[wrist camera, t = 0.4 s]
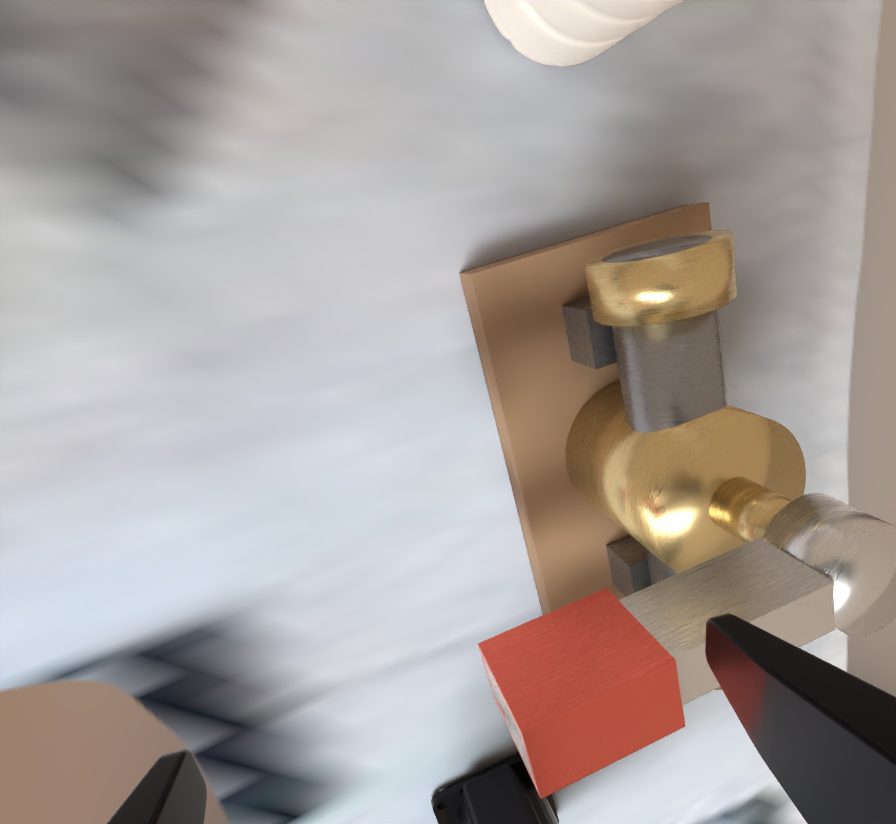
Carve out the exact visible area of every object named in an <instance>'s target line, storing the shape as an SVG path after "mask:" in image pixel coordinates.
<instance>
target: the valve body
mask: <svg viewBox="0 0 896 824" xmlns="http://www.w3.org/2000/svg"><path fill="white" fill-rule="evenodd" d="M584 266H585V272H586V278H587V284H588V290H589V296H590V297H588V298H585V299H582V300H579V301H576V302H572V303H569V304H566V305H563V306H562V311H563V317H564V322H565V328H566V333H567V338H568V344H569V349H570V355H571V360H572V361H575V362H577V363H580V364H582V365H585V366H588V367H590V368H593V369H599V368H602V367H605V366H608V365H610V364H613V363H616V362H617V364H618V371H619V377H620V380H617V381H615V382H613V383H610V384H608V385H607V386H605V387H603V388H602V389H600V390H599V391H598V392H596V393H595V394H594V395H593V396H592V397H591V398H590V399H589V400H588V401H587V402H586V403H585V404H584V405H583V407H582V408H581V409H580V411H579V412H578V414H577V415H576V417H575V419H574V421H573V423H572V425H571V428H570V431H569V434H568V438H567V442H566V450H565V460H566V468H567V471H568V475H569V477H570V479H571V482H572V484H573V485H574V487H575V488H576V490H577V491H578V492H579V493H580V494H581V495H582V496H583V497H585V498H586V499H587V500H588V501H590V502H591V503H592V504H593V505H594V506H596V507H597V508H598V509H599V510H601V511H602V512H603V513H604V514H605V515H607V516H608V517H609V518H610V519H612V520H613V521H614V522H615V523H616V524H618V525H619V526H620V527H621V528H623V529H624V530H625V531H626V532H627V533H629V534H630V535H628V536H625V537H623V538H621V539H618V540H616V541H613V542H611V543H609V544H606V549H607V555H608V560H609V566H610V571H611V576H612V582H613V585H614V586H615V587H616V588H617V589H618V590H619V591H620V592H621V593H622V594H623V595H624V596H625V597H627V596H629V595H631V594H633V593H636V592H638V591H640V590H642V589H645V588H647V587H649V586H651V585H654V584H656V583H658V582H660V581H663V580H665V579H667V578H669V577H672V576H674V575H676V574H678V573H681V572H683V571H685V570H687V569H690V568H692V567H694V566H696V565H699V564H701V563H703V562H705V561H708V560H710V559H712V558H715V557H717V556H719V555H721V554H724V553H726V552H728V551H730V550H733V549H735V548H737V547H739V546H742V545H744V544H746V543H748V542H751V541H753V540H755V539H757V538H762V537H763V535H764V533H765V530H766V529H767V527H768V525H769V523H770V522H771V521H772V519H773V518H774V517H775V516H776V514H777V513H778V512H779V511H780V510H781V509H782V508H783V507H785V506H786V505H787V504H788V503H790V502H791V501H793V500H795V499H796V498H798V497H801V496H803V494H804V488H805V476H806V471H805V462H804V457H803V453H802V451H801V448H800V446H799V444H798V442H797V440H796V439H795V437H794V436H793V435H792V433H791V432H790V431H789V430H788V429H786V428H785V427H784V426H783V425H781V424H779V423H777V422H776V421H773V420H771V419H768V418H765V417H762V416H759V415H756V414H753V413H750V412H747V411H744V410H742V409H739V408H736V407H733V406H730V405H727V404H726V392H725V380H724V368H723V357H722V345H721V333H720V321H719V310H718V308H720V307H722V306H725V305H726V304H728V303H730V302H731V301H733V300H734V299H735V298H736V296H737V287H736V273H735V259H734V245H733V233H732V232H730V231H725V230H712V231H700V232H692V233H685V234H679V235H673V236H668V237H663V238H658V239H653V240H649V241H644V242H640V243H636V244H632V245H629V246H625V247H621V248H618V249H615V250H612V251H609V252H606V253H603V254H600V255H598V256H596V257H593V258H591V259H590V260H588V261H587V262H585V264H584ZM719 689H722V688H721V686H720V687H718V688H716V689H714V690H719Z"/></svg>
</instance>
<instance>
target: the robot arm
mask: <svg viewBox="0 0 896 824" xmlns="http://www.w3.org/2000/svg"><path fill="white" fill-rule="evenodd" d="M705 654H706V659H707V662H708V664H709V667H710V669H711V670H712V672H713V674H714V676H715V677H716V679H717V681H718V683H719V684H720V686H721V688H722V690H723V691H724V693H725V695H726V697H727V698H728V700H729V702H730V704H731V706H732V707H733V709H734V711H735V713H736V714H737V716H738V718H739V720H740V721H741V723H742V725H743V727H744V728H745V730H746V732H747V734H748V735H749V737H750V739H751V741H752V742H753V744H754V746H755V747H756V749H757V751H758V752H759V754H760V755H761V757H762V758H763V760H764V761H765V763H766V764H767V766H768V767H769V769H770V770H771V772H772V773H773V774H774V776H775V777H776V779H777V780H778V782H779V783H780V784H781V786H782V787H783V789H784V790H785V792H786V793H787V795H788V796H789V797H790V799H791V800H792V802H793V803H794V805H795V806H796V807H797V809H798V810H799V812H800V813H801V815H802V816H803V818H804V819H805V820H806V822H807V823H808V824H896V697H894V696H893V695H891V694H889V693H886V692H885V691H882V690H881V689H879V688H877V687H875V686H873V685H871V684H869V683H867V682H865V681H863V680H861V679H859V678H857V677H855V676H853V675H851V674H849V673H847V672H845V671H843V670H841V669H839V668H838V667H836V666H834V665H832V664H830V663H828V662H826V661H824V660H822V659H820V658H818V657H816V656H814V655H812V654H810V653H808V652H806V651H804V650H802V649H800V648H798V647H796V646H794V645H792V644H790V643H788V642H786V641H784V640H782V639H780V638H779V637H777V636H775V635H773V634H771V633H769V632H767V631H765V630H763V629H761V628H759V627H757V626H755V625H753V624H751V623H749V622H747V621H745V620H743V619H741V618H739V617H737V616H735V615H733V614H723V615H719V616H715V617H711V618H709V619H708V620H707V622H706V642H705ZM206 799H207V788H206V782H205V779H204V777H203V775H202V773H201V771H200V769H199V766H198V764H197V762H196V760H195V758H194V756H193V754H192V752H191V751H190V750H188V749H182V750H178V751H175V752H170V753H167V754H164V755H163V756H161V757H160V758H159V759H158V760H157V761H156V762H155V764H154V765H153V766H152V767H151V769H150V770H149V771H148V773H147V774H146V775H145V776H144V777H143V779H142V780H141V781H140V782H139V784H138V785H137V786H136V787H135V789H134V790H133V791H132V792H131V794H130V795H129V796H128V798H127V799H126V800H125V801H124V803H123V804H122V805H121V806H120V808H119V809H118V810H117V811H116V813H115V814H114V815H113V816H112V818H111V819H110V820H109V821H108V823H107V824H204V818H205V809H206ZM431 804H432V807H433V811H434V813H435V816H436V818H437V821H438V823H439V824H559V820H558V816H557V813H556V809H555V805H554V802H553V798H552V794H550V795H548V796H546V797H544V798H542V799H541V798H540V796H539V794H538V792H537V790H536V788H535V785H534V783H533V781H532V779H531V777H530V775H529V773H528V770H527V768H526V766H525V764H524V762H523V760H522V758H521V756H520V753H519V754H517V755H515V756H513V757H511V758H509V759H507V760H505V761H502V762H500V763H498V764H496V765H494V766H492V767H490V768H488V769H486V770H484V771H482V772H480V773H478V774H476V775H474V776H471V777H469V778H467V779H465V780H463V781H461V782H459V783H457V784H455V785H453V786H451V787H449V788H447V789H445V790H443V791H440V792H438V793H437V794H435V795H434V796H433V797H432V800H431Z"/></svg>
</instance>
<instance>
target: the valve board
mask: <svg viewBox="0 0 896 824" xmlns="http://www.w3.org/2000/svg"><path fill="white" fill-rule="evenodd" d="M700 231H711V222H710V210H709V203H700V204H692V205H684V206H681V207H678V208H674V209H671V210H668V211H664V212H661V213H658V214H654V215H651V216H648V217H645V218H641V219H638V220H635V221H631V222H628V223H625V224H621V225H618V226H615V227H611V228H608V229H605V230H601V231H598V232H595V233H591V234H588V235H585V236H581V237H578V238H575V239H571V240H568V241H565V242H561V243H558V244H555V245H551V246H548V247H545V248H541V249H538V250H535V251H531V252H528V253H525V254H521V255H518V256H515V257H511V258H508V259H505V260H501V261H498V262H495V263H491V264H488V265H485V266H481V267H478V268H475V269H471V270H468V271H465V272H462V273H459V274H460V278H461V282H462V286H463V290H464V294H465V298H466V302H467V306H468V311H469V315H470V319H471V323H472V327H473V331H474V335H475V339H476V343H477V347H478V351H479V355H480V360H481V364H482V368H483V372H484V376H485V380H486V384H487V388H488V392H489V396H490V400H491V404H492V409H493V413H494V417H495V421H496V425H497V429H498V433H499V437H500V441H501V445H502V449H503V454H504V458H505V462H506V466H507V470H508V474H509V478H510V482H511V486H512V490H513V494H514V498H515V503H516V507H517V511H518V515H519V519H520V523H521V527H522V531H523V535H524V539H525V543H526V547H527V552H528V556H529V560H530V564H531V568H532V572H533V576H534V580H535V584H536V588H537V592H538V596H539V601H540V605H541V609H542V613H543V615H545V614H547V613H550V612H552V611H554V610H556V609H559V608H561V607H563V606H566V605H568V604H570V603H572V602H575V601H577V600H579V599H582V598H584V597H586V596H589V595H591V594H593V593H595V592H598V591H600V590H602V589H605V588H607V589H608V590H609V591H610V592H611V593H612V594H613V595H614V596H615V597H616V598H617V599H618V600H620V599H622V598H624V597H625V596H624V595H623V594H622V593H621V592H620V591H619V590H618V589H617V588H616V587H615V586H614V585H613V582H612V576H611V571H610V566H609V560H608V555H607V549H606V544H609V543H611V542H613V541H616V540H618V539H621V538H623V537H625V536H628V535H630V534H629V533H627V532H626V531H625V530H624V529H623V528H621V527H620V526H619V525H618V524H616V523H615V522H614V521H613V520H612V519H610V518H609V517H608V516H607V515H605V514H604V513H603V512H602V511H601V510H599V509H598V508H597V507H596V506H594V505H593V504H592V503H591V502H590V501H588V500H587V499H586V498H585V497H583V496H582V495H581V494H580V493H579V492H578V491H577V490H576V488H575V487H574V485H573V484H572V482H571V479H570V477H569V475H568V471H567V468H566V460H565V450H566V442H567V438H568V434H569V431H570V428H571V425H572V423H573V421H574V419H575V417H576V415H577V414H578V412H579V411H580V409H581V408H582V407H583V405H584V404H585V403H586V402H587V401H588V400H589V399H590V398H591V397H592V396H593V395H594V394H595V393H596V392H598V391H599V390H600V389H602V388H603V387H605V386H607V385H608V384H610V383H613V382H615V381H617V380H620V377H619V371H618V364H617V362H616V363H613V364H610V365H608V366H605V367H602V368H599V369H593V368H590V367H588V366H585V365H582V364H580V363H577V362H575V361H572V360H571V355H570V349H569V344H568V338H567V333H566V328H565V322H564V317H563V311H562V306H563V305H566V304H569V303H572V302H576V301H579V300H582V299H585V298H588V297H590V296H589V290H588V284H587V278H586V272H585V266H584V264H585V262H587V261H588V260H590V259H591V258H593V257H596V256H598V255H600V254H603V253H606V252H609V251H612V250H615V249H618V248H621V247H625V246H629V245H632V244H636V243H640V242H644V241H649V240H653V239H658V238H663V237H668V236H673V235H679V234H685V233H692V232H700Z"/></svg>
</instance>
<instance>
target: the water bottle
mask: <svg viewBox="0 0 896 824" xmlns="http://www.w3.org/2000/svg"><path fill="white" fill-rule="evenodd" d="M682 1H684V0H484V2H485V5H486V7H487V10H488V12H489V14H490V16H491V18H492V20H493V22H494V24H495V25H496V27H497V29H498V30H499V31H500V33H501V34H502V35H503V36H504V37H505V38H506V39H508V40H510V41H511V43H512V45H513V47H514V48H515V49H516V50H517V51H518V52H520V53H521V54H523V55H524V56H526V57H527V58H529V59H531V60H533V61H535V62H538V63H541V64H545V65H557V66H572V65H576V64H580V63H583V62H585V61H588V60H590V59H592V58H594V57H595V56H597V55H599V54H600V53H602V52H604V51H605V50H607V49H608V48H610V47H612V46H613V45H615V44H616V43H618V42H619V41H621V40H622V39H623V38H625V37H626V36H627V35H629V34H630V33H632V32H634V31H635V30H637V29H639V28H641V27H642V26H644V25H646V24H647V23H649V22H650V21H652V20H653V19H655V18H656V17H657V16H659V15H660V14H661V13H663V12H664V11H665V10H667V9H669V8H671V7H673V6H675V5H677V4H678V3H680V2H682Z"/></svg>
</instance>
